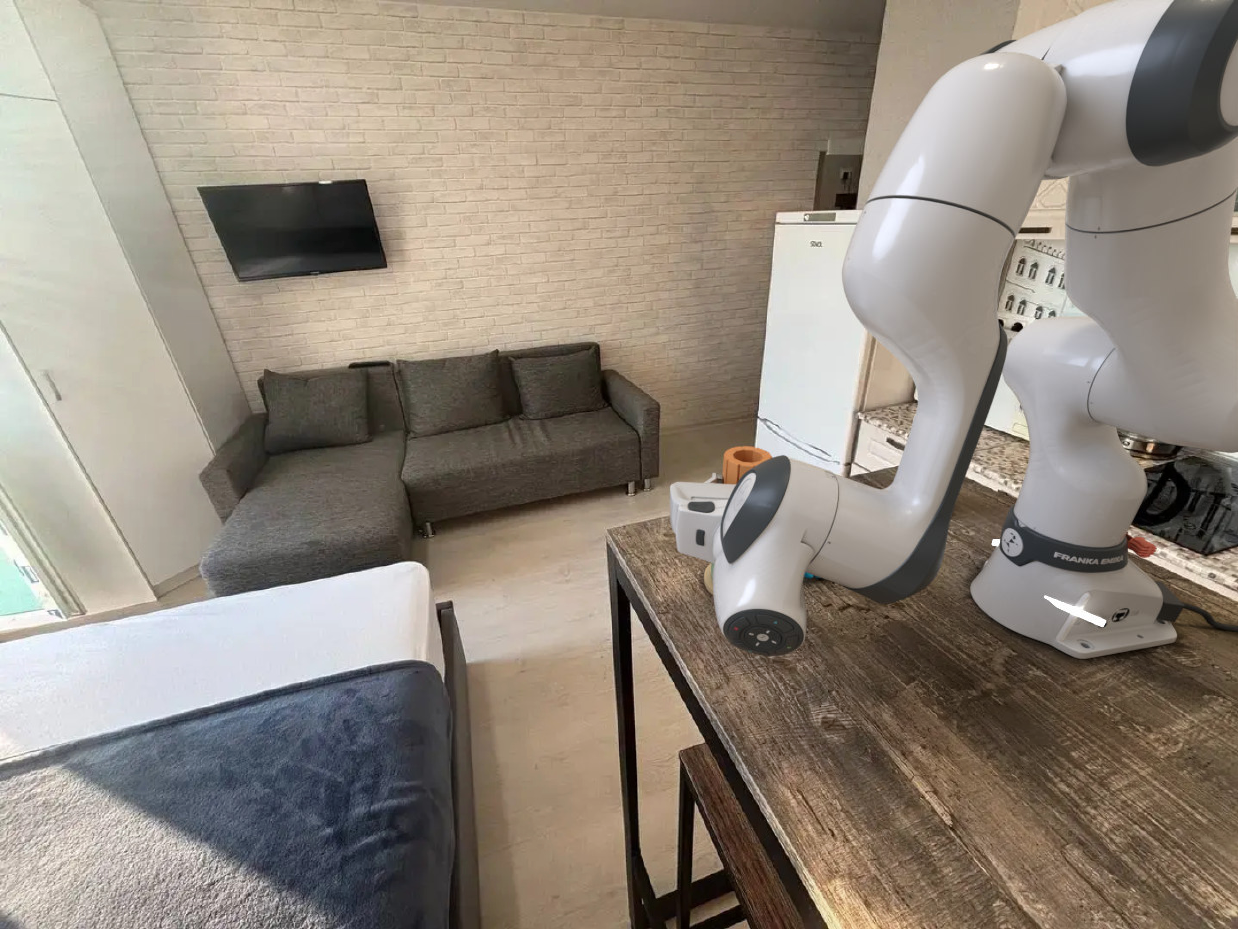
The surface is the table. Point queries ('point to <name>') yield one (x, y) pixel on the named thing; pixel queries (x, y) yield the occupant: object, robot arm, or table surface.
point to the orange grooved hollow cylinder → (741, 462)
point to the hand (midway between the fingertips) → (744, 478)
